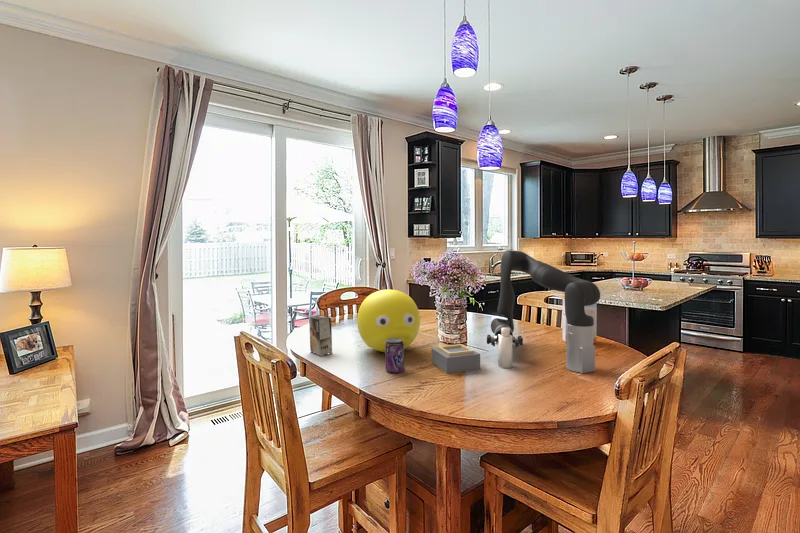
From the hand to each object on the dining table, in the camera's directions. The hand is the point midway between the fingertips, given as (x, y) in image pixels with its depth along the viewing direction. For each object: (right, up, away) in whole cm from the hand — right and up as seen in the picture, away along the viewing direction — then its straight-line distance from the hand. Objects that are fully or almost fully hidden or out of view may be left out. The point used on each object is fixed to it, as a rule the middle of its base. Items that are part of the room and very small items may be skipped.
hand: (505, 344), depth 166 cm
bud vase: (0, -8, -2) cm, 8 cm away
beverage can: (-43, -9, -5) cm, 45 cm away
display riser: (-20, -8, -1) cm, 21 cm away
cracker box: (+43, -5, +33) cm, 54 cm away
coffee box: (-76, -8, +20) cm, 79 cm away
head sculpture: (-46, -7, +22) cm, 52 cm away
